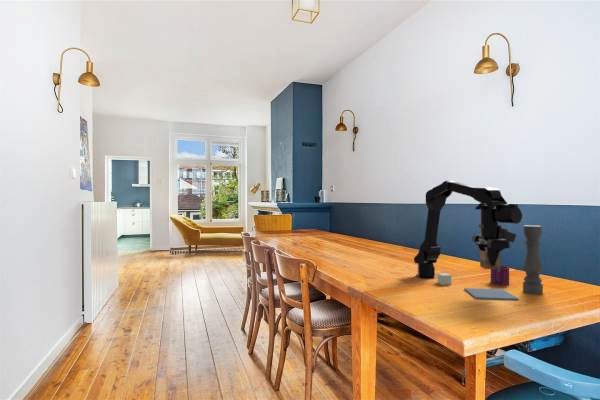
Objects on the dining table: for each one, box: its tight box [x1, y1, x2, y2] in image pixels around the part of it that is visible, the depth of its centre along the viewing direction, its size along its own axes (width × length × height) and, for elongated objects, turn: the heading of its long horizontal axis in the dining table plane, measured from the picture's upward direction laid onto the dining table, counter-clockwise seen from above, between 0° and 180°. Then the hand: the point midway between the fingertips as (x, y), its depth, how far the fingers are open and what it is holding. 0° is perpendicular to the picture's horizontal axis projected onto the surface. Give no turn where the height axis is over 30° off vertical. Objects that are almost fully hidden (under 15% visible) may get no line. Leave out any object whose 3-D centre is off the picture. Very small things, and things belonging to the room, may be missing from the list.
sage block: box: [437, 272, 452, 286], centre depth 142 cm, size 4×4×4 cm
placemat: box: [463, 287, 519, 301], centre depth 125 cm, size 14×12×1 cm
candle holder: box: [522, 224, 544, 296], centre depth 128 cm, size 6×6×25 cm
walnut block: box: [479, 250, 501, 270], centre depth 125 cm, size 5×5×6 cm
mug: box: [490, 265, 510, 286], centre depth 141 cm, size 7×10×7 cm
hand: (489, 264), depth 125 cm, fingers closed on walnut block, 5 cm apart
